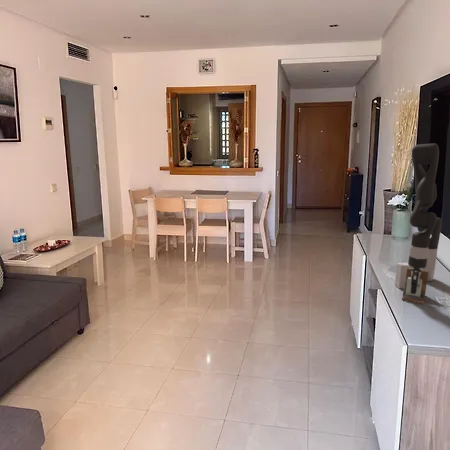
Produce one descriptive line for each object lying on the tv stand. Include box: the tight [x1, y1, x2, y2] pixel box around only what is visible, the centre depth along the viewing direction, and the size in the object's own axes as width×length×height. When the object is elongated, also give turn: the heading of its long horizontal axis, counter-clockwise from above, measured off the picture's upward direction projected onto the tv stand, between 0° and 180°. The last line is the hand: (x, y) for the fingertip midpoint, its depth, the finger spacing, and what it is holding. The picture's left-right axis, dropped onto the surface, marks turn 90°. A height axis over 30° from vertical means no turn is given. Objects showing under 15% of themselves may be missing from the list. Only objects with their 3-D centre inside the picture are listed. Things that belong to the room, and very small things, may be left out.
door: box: [406, 277, 422, 297], centre depth 185 cm, size 3×6×9 cm, turn 62°
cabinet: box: [401, 268, 428, 305], centre depth 188 cm, size 12×9×12 cm
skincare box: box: [394, 262, 414, 289], centre depth 201 cm, size 6×4×12 cm
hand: (413, 292), depth 186 cm, fingers closed on door, 2 cm apart
